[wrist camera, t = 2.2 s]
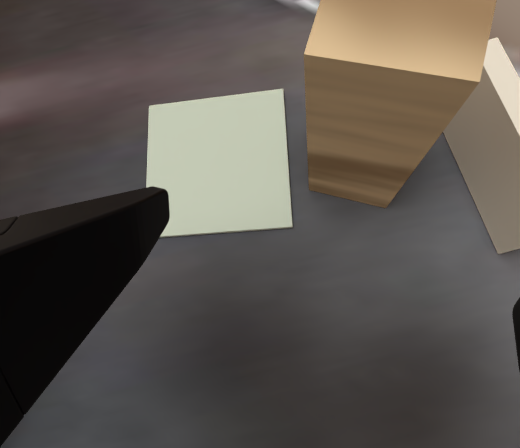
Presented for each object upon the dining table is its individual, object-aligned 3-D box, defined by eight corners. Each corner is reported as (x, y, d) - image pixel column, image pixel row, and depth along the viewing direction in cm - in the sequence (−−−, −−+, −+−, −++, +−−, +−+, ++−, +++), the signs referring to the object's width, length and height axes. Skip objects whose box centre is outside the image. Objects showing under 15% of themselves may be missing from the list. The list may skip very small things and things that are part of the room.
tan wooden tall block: (387, 208, 22) (485, 83, 10) (309, 189, 23) (303, 54, 11) (404, 137, 23) (514, -62, 11) (328, 122, 24) (344, -76, 12)
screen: (518, 248, 20) (599, 226, 15) (498, 254, 21) (570, 234, 15) (451, 104, 23) (497, 37, 17) (433, 110, 23) (473, 45, 17)
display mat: (292, 227, 23) (292, 226, 22) (147, 238, 24) (144, 237, 24) (283, 92, 25) (283, 88, 25) (151, 108, 26) (149, 105, 26)
